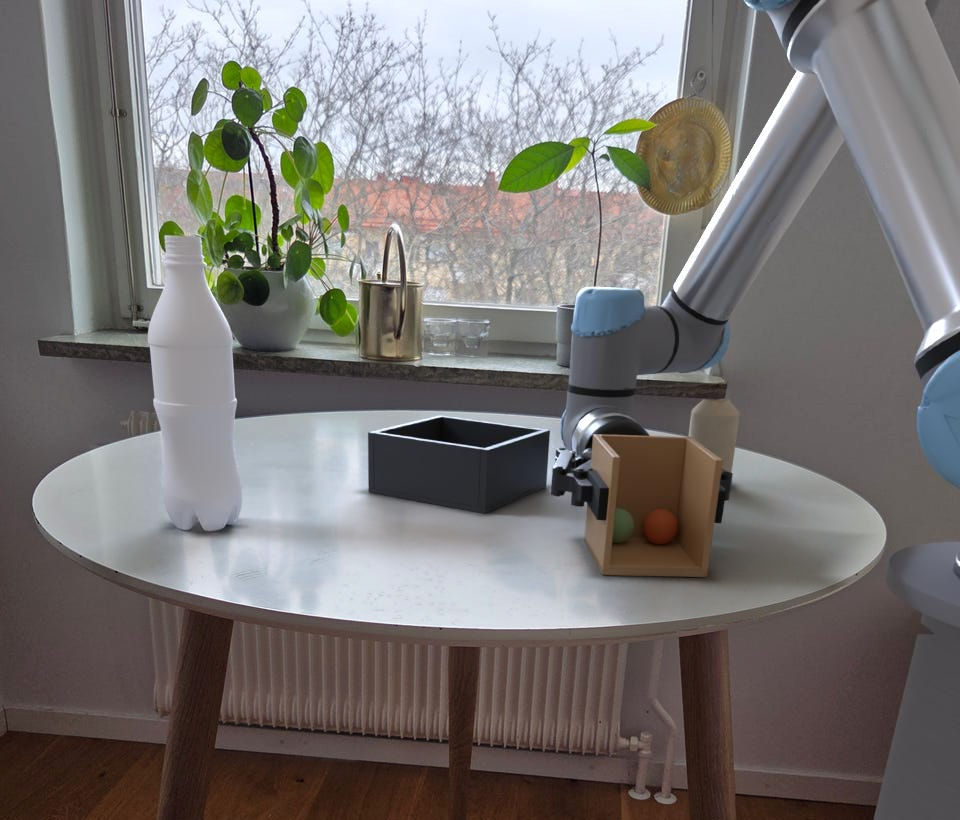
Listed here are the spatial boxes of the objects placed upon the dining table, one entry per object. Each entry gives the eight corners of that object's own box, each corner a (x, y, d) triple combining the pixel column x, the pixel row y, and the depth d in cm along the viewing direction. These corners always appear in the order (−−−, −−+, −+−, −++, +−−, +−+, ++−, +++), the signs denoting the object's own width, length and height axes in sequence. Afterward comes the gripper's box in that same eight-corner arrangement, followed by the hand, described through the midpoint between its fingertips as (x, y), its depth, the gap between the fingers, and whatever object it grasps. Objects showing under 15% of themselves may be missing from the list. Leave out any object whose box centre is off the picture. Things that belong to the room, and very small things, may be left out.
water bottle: (166, 515, 90) (140, 234, 81) (242, 513, 92) (226, 237, 82) (163, 536, 84) (134, 234, 74) (245, 533, 86) (228, 237, 76)
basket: (546, 487, 107) (550, 430, 105) (485, 513, 96) (487, 450, 93) (438, 469, 114) (439, 415, 111) (368, 492, 102) (367, 432, 99)
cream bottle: (712, 477, 115) (723, 394, 112) (738, 487, 111) (751, 401, 107) (673, 479, 114) (684, 395, 110) (699, 490, 109) (711, 402, 105)
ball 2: (682, 544, 86) (682, 510, 86) (671, 541, 83) (671, 505, 83) (649, 547, 87) (648, 512, 88) (637, 543, 85) (637, 508, 85)
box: (584, 540, 88) (593, 434, 84) (678, 543, 88) (691, 437, 85) (602, 575, 79) (613, 456, 75) (706, 577, 79) (723, 460, 75)
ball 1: (639, 544, 86) (639, 509, 86) (627, 540, 83) (627, 504, 83) (606, 546, 87) (606, 511, 87) (593, 542, 84) (593, 507, 85)
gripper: (709, 488, 100) (782, 552, 79) (507, 483, 99) (527, 546, 78) (719, 417, 97) (797, 464, 76) (511, 411, 96) (533, 456, 75)
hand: (661, 505), depth 77 cm, fingers closed on box, 9 cm apart
